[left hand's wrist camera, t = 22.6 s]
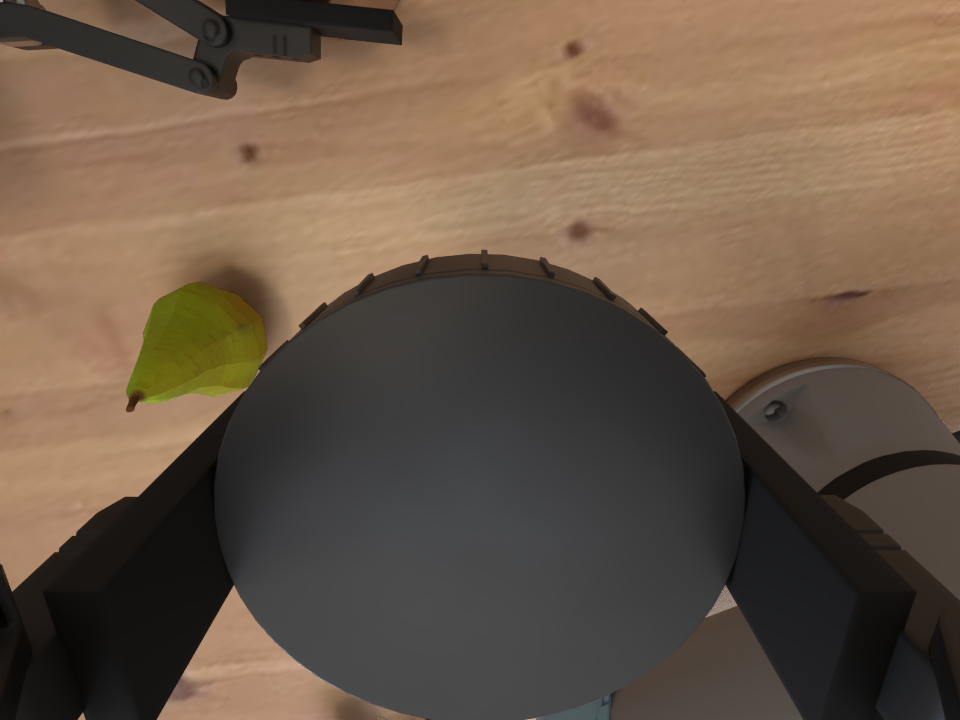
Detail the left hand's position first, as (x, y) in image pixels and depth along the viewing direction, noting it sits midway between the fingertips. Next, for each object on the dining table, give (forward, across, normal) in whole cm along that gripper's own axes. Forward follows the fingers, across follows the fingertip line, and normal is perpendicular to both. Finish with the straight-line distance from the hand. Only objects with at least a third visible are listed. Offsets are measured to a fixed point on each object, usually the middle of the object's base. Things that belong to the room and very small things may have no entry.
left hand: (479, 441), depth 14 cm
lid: (-3, 0, 0) cm, 3 cm away
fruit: (+21, +15, +3) cm, 26 cm away
